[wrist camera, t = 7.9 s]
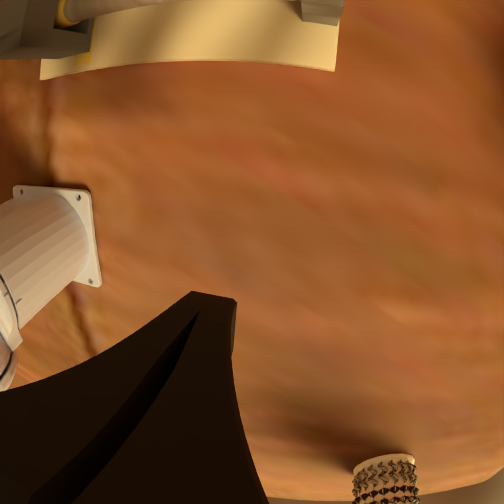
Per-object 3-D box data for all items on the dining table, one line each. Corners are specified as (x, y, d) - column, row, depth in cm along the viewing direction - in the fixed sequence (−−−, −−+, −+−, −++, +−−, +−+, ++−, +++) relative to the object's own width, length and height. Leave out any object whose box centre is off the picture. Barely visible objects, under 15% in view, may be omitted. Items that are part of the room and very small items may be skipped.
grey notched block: (58, 59, 14) (-10, 60, 9) (69, -10, 12) (7, -24, 6) (89, 51, 14) (19, 46, 9) (101, -21, 12) (40, -43, 6)
